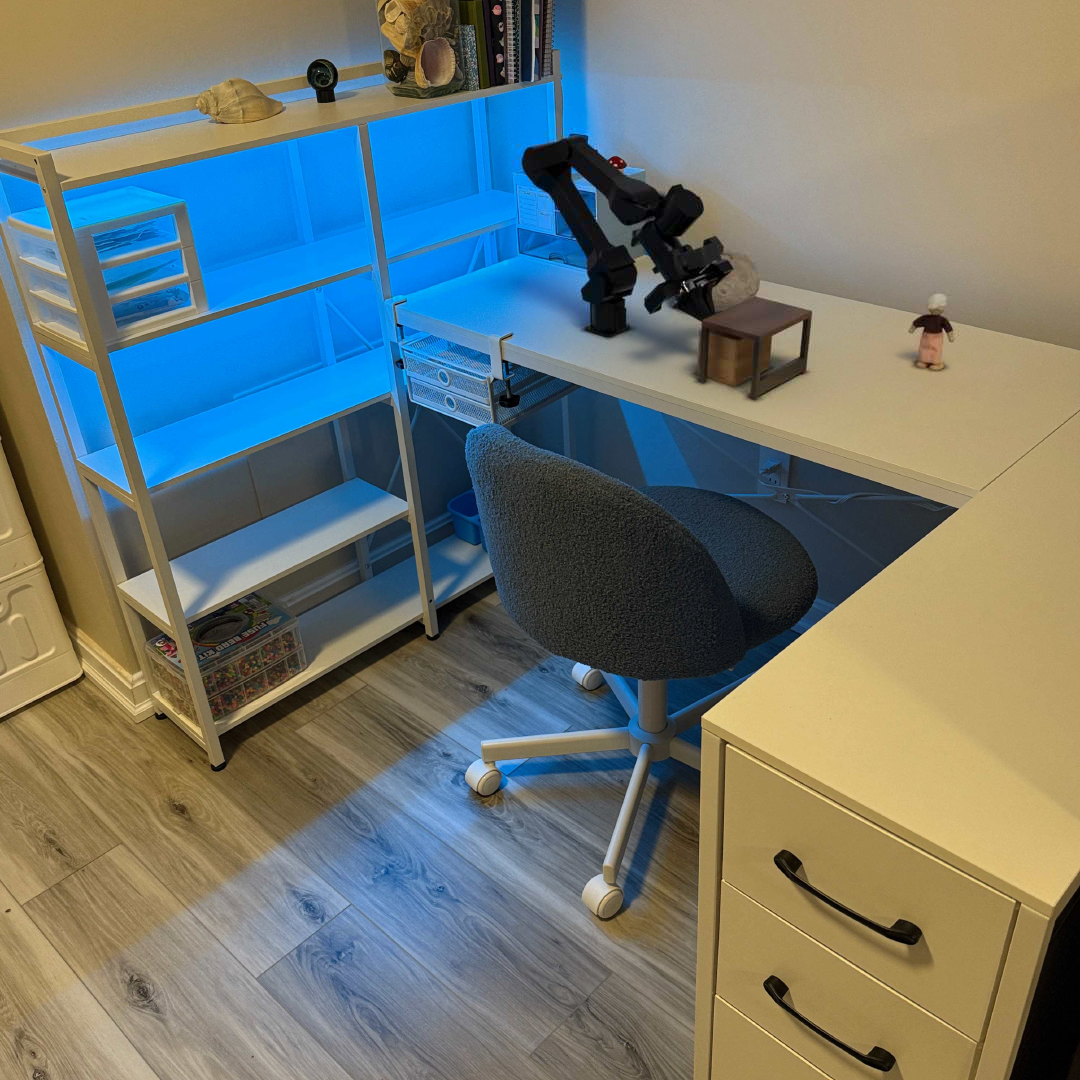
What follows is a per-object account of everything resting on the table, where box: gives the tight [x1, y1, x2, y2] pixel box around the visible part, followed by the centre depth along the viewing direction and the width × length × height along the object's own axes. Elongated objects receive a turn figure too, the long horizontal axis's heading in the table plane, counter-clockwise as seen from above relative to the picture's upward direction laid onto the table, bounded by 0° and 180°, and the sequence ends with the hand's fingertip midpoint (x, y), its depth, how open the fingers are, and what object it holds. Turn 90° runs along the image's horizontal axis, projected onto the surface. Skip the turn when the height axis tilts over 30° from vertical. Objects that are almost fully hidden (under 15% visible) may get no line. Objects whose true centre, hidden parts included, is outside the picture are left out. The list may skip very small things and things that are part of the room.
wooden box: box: [697, 328, 773, 387], centre depth 179 cm, size 8×10×8 cm
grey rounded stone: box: [700, 249, 761, 313], centre depth 207 cm, size 18×18×10 cm
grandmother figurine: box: [907, 293, 956, 371], centre depth 177 cm, size 8×4×13 cm, turn 65°
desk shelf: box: [698, 295, 813, 401], centre depth 176 cm, size 12×15×11 cm
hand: (715, 326), depth 180 cm, fingers closed, pressing on wooden box
